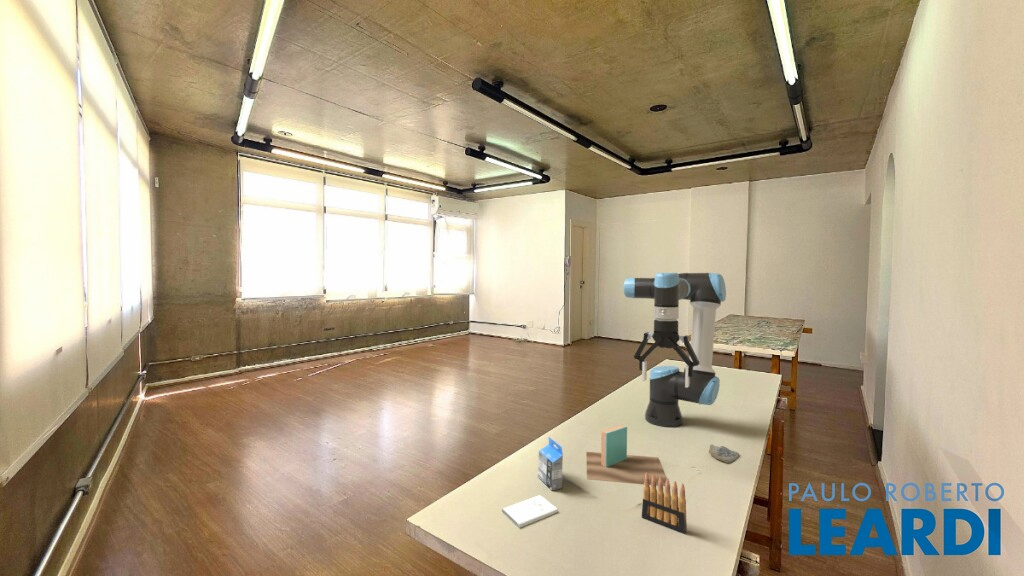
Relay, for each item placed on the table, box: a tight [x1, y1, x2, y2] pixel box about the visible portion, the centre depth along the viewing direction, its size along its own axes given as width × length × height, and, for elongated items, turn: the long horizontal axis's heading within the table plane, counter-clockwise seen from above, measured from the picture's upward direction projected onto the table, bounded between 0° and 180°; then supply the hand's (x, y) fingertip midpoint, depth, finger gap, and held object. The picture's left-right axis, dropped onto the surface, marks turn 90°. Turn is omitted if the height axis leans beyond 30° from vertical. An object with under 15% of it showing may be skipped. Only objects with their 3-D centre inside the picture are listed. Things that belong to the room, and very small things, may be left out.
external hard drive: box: [501, 494, 559, 529], centre depth 107 cm, size 2×8×12 cm
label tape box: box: [537, 436, 564, 491], centre depth 121 cm, size 9×4×12 cm, turn 23°
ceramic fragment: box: [708, 444, 740, 464], centre depth 140 cm, size 11×3×10 cm
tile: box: [600, 424, 628, 467], centre depth 133 cm, size 2×10×11 cm, turn 125°
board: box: [586, 451, 668, 487], centre depth 129 cm, size 19×24×1 cm
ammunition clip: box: [641, 472, 688, 535], centre depth 101 cm, size 11×2×12 cm, turn 52°
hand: (665, 383), depth 133 cm, fingers open, 13 cm apart
